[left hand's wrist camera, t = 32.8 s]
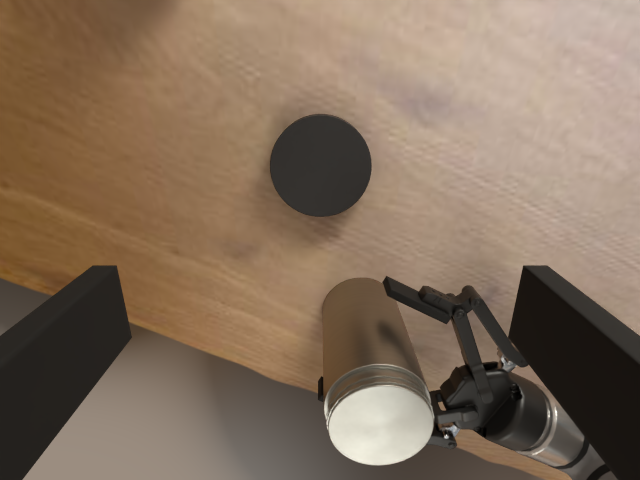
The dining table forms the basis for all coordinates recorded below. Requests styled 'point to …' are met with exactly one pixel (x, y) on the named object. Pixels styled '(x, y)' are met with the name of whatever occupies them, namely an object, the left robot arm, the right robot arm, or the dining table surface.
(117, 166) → the dining table surface
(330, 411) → the jar
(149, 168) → the dining table surface
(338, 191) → the lid
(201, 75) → the dining table surface
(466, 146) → the dining table surface
